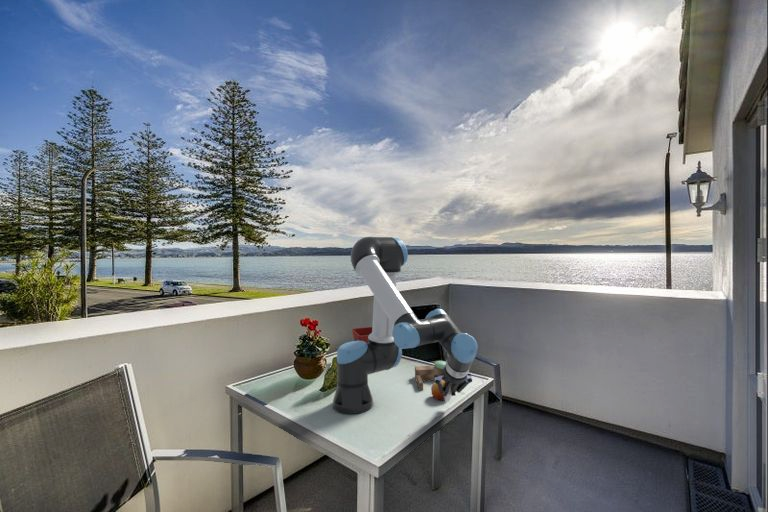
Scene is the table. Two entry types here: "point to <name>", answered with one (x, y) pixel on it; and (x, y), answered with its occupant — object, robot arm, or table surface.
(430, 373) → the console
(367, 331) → the plant pot
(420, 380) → the brown wooden u shape
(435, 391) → the fruit
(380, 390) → the table surface
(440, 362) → the button
